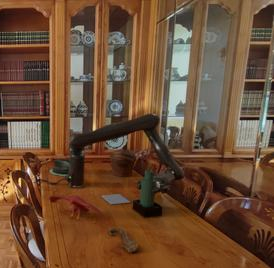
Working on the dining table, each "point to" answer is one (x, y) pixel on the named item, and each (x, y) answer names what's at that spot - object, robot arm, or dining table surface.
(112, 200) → the coaster
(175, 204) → the dining table surface
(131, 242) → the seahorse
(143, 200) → the bottle
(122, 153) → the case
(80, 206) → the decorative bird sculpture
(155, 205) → the holder
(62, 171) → the green hat
